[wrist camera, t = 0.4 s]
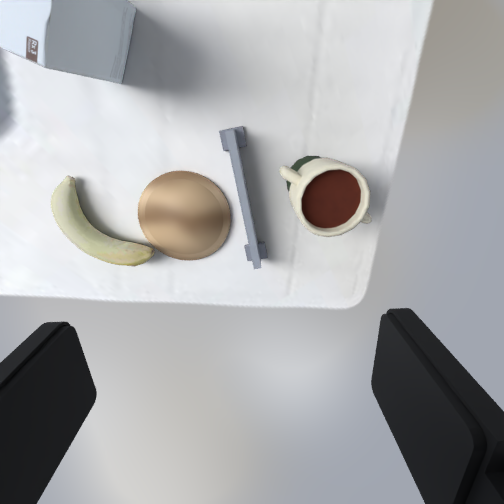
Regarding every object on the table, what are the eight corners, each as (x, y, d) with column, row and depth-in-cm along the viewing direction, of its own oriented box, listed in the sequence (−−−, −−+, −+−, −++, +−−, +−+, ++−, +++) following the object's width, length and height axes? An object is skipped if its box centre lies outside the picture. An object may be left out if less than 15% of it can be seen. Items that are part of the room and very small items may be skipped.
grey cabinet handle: (219, 130, 37) (215, 131, 33) (242, 126, 37) (241, 126, 33) (247, 259, 44) (247, 271, 40) (267, 256, 44) (268, 268, 40)
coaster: (125, 180, 39) (123, 181, 39) (218, 162, 38) (218, 162, 38) (156, 265, 44) (154, 267, 44) (239, 250, 43) (238, 252, 43)
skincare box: (86, -17, 31) (-45, -129, 17) (141, 10, 32) (58, -76, 18) (73, 67, 34) (-46, 29, 20) (124, 90, 35) (42, 67, 21)
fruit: (132, 276, 45) (122, 287, 42) (46, 208, 41) (28, 216, 38) (160, 247, 43) (151, 257, 40) (71, 172, 39) (54, 177, 36)
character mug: (261, 183, 39) (264, 208, 28) (288, 133, 37) (304, 137, 25) (327, 219, 42) (357, 257, 30) (357, 175, 39) (403, 196, 27)
